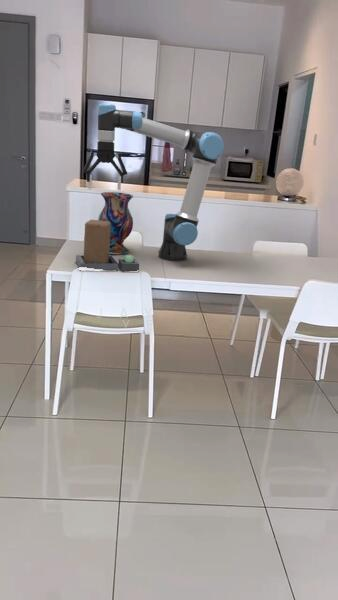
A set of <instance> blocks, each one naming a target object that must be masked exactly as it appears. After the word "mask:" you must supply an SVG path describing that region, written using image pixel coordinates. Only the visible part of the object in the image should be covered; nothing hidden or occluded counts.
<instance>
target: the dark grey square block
mask: <svg viewBox="0 0 338 600" xmlns="http://www.w3.org/2000/svg"><path fill="white" fill-rule="evenodd" d="M117 261H118V262H117V263H118V270H119V271H120V272H121V271H137V270H139V271H140V263H139V262H138V261H137V260H136V258H135V259H134V258H133V263H125V262H124V261H125V258H119V259H117Z"/></svg>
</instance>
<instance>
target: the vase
mask: <svg viewBox="0 0 338 600" xmlns="http://www.w3.org/2000/svg"><path fill="white" fill-rule="evenodd" d="M100 195H101V196H102V198H103V200H104V206H103V208H102V210H101V211H100V213H99V214H98V219H97V220H100V221H109V222H110V223H111V231H110V250H109V255H127V254H129V253H130V251H131V250H129V249H128V248H127V247H126V246H125V245H124V241H125V240H126V239H127V238H128V237H129V236H130V235H131V233H132V231H133V227H134V220H133V219H134V218H133V217H132V214H131V212H130V209H129V203H130V200H132V199H133V198H134V195H133V194H130V193H125V192H115V191H112V192H111V191H104V192H101V193H100Z"/></svg>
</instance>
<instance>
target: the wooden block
mask: <svg viewBox="0 0 338 600" xmlns="http://www.w3.org/2000/svg"><path fill="white" fill-rule="evenodd" d="M110 231H111V223H110V222H109V221H100V220H98V219H89V220H87V221H86V222H85V224H84V239H83V241H84V242H83V255H84V262H85V263H109V256H110V254H109V250H110Z"/></svg>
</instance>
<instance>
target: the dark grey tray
mask: <svg viewBox="0 0 338 600" xmlns="http://www.w3.org/2000/svg"><path fill="white" fill-rule="evenodd" d="M75 264H76V266H77V268H79V267H87V268H94V269H103V270H116V271H115V272H118V271H119V268H118V262H117V260H116V259H115V258H114V256H113V255H109V263H85V262H84V254H83V255H80V254H76V255H75Z"/></svg>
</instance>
